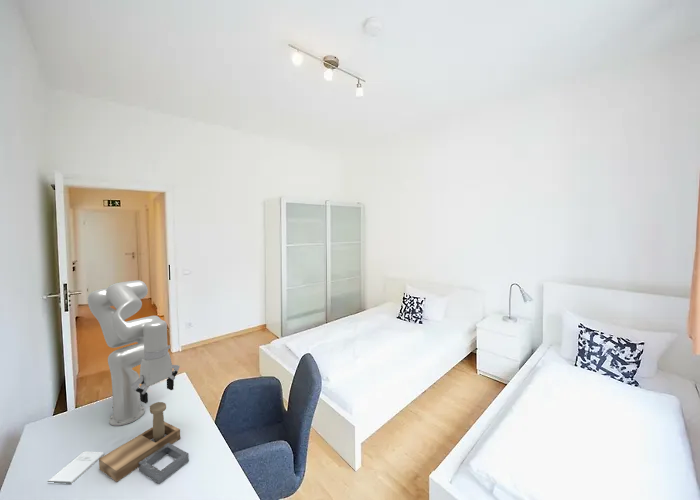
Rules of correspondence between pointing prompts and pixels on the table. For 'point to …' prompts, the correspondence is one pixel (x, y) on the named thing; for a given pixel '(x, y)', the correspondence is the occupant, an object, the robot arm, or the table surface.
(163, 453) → the collar
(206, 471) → the table surface
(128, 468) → the wooden box
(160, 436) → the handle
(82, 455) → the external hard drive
